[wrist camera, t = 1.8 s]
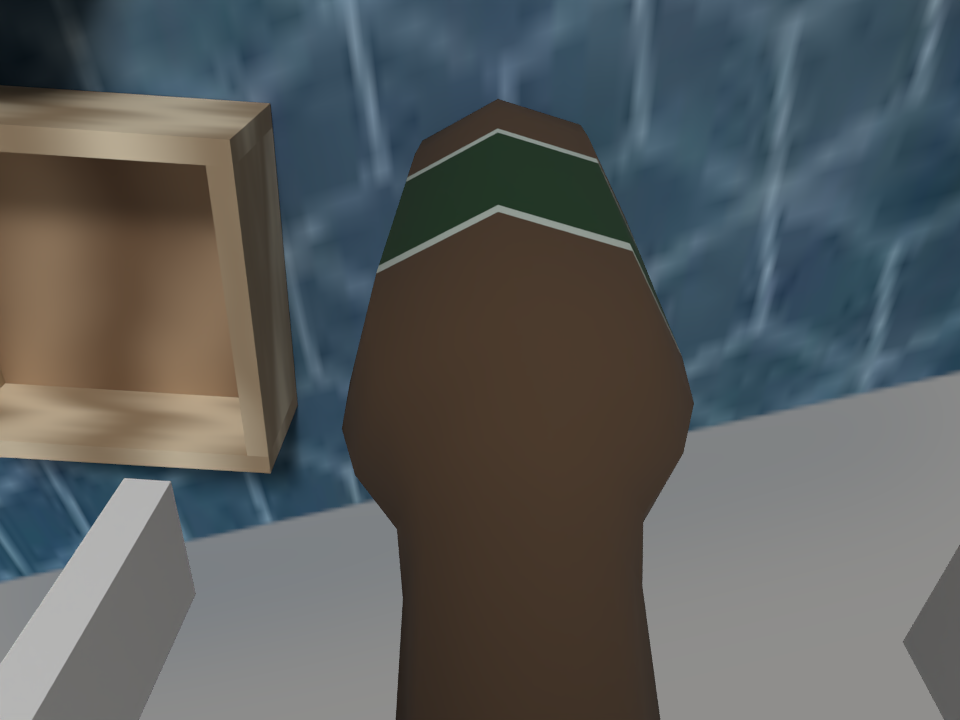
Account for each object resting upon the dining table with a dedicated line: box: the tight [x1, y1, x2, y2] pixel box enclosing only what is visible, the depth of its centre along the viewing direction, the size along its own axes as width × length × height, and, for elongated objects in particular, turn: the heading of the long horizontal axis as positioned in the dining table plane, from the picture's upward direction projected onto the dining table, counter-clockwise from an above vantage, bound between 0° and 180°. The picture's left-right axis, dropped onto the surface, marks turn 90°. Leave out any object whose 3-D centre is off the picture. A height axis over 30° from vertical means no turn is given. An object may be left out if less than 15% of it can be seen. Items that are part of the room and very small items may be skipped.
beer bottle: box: [342, 99, 694, 720], centre depth 16 cm, size 8×8×24 cm
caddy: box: [0, 85, 298, 473], centre depth 26 cm, size 13×13×4 cm
